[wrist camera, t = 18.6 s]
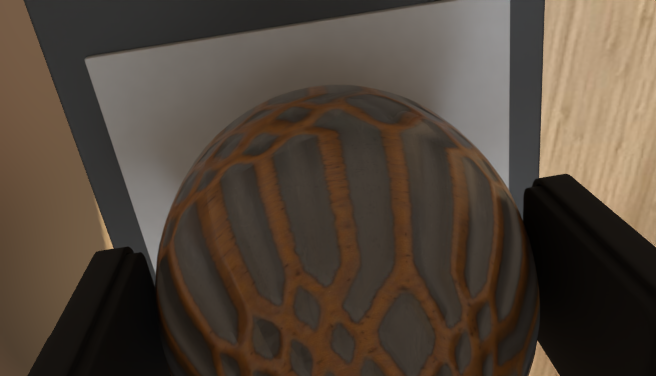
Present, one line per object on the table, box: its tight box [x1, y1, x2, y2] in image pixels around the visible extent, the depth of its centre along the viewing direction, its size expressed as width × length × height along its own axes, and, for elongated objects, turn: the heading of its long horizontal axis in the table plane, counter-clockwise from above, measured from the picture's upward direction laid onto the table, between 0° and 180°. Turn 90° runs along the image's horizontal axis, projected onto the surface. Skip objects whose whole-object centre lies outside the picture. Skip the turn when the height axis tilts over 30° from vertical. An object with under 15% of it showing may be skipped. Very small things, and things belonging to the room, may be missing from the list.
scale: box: [24, 0, 545, 285], centre depth 15 cm, size 16×12×3 cm
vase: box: [155, 85, 540, 376], centre depth 10 cm, size 7×7×9 cm
